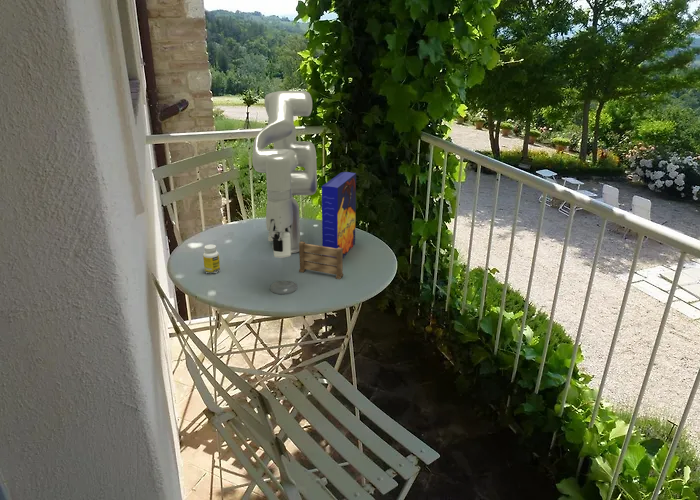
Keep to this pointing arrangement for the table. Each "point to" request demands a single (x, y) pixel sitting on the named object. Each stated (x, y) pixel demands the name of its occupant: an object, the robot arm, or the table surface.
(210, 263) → the supplement bottle
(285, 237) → the eye dropper bottle
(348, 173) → the cereal box
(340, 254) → the brown piece
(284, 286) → the coaster
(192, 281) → the table surface
